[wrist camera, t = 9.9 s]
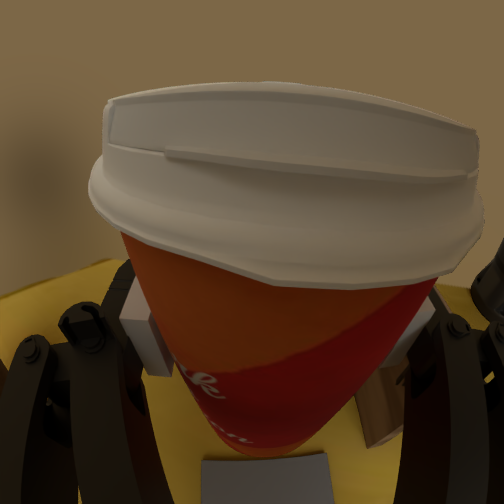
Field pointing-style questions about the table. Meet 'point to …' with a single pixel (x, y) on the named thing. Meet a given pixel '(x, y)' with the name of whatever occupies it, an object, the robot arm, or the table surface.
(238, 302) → the paper cup
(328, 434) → the table surface
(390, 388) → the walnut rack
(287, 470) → the rubber mat
